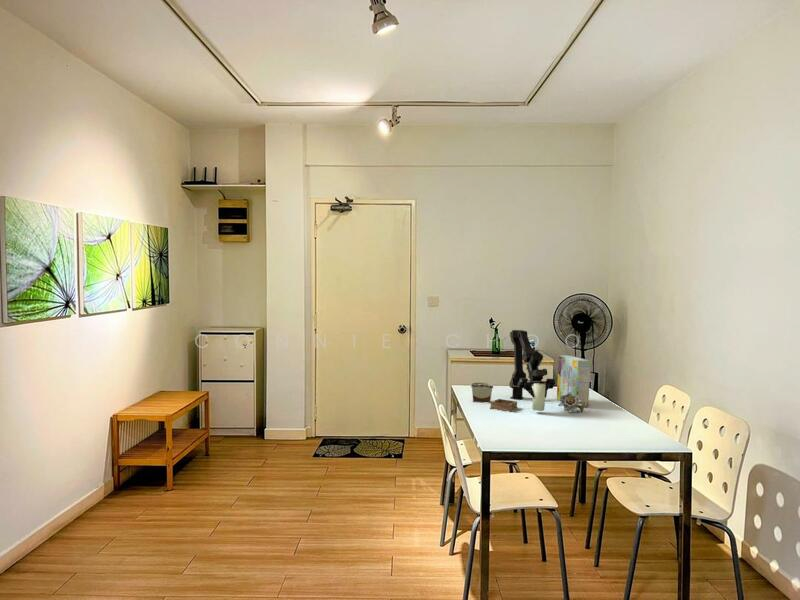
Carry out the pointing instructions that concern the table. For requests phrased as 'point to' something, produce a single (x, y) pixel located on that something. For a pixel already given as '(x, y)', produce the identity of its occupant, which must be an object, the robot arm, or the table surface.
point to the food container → (481, 392)
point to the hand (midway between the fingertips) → (539, 397)
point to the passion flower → (570, 402)
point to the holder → (504, 405)
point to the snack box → (574, 378)
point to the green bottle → (538, 397)
